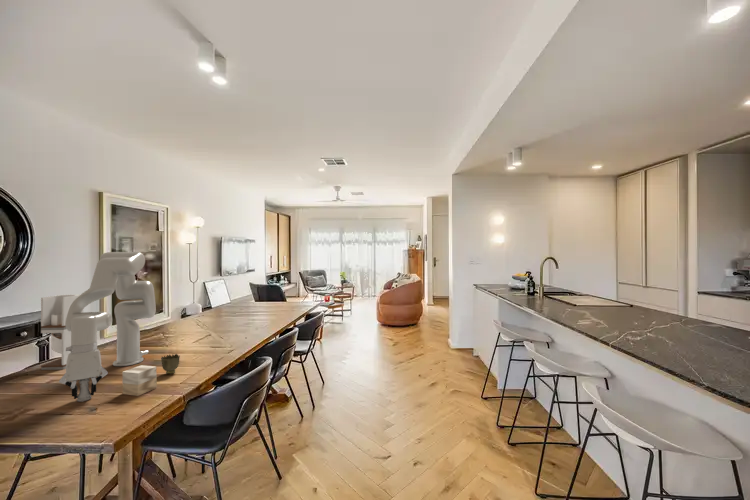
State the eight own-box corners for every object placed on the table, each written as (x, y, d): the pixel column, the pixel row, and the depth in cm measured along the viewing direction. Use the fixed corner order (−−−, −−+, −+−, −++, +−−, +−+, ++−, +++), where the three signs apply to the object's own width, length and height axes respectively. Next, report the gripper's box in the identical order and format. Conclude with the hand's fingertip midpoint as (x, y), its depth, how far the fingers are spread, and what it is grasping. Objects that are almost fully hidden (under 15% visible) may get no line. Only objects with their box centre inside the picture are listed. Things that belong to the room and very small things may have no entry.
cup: (182, 373, 156) (182, 355, 156) (164, 377, 150) (163, 359, 150) (176, 369, 161) (176, 352, 161) (159, 373, 155) (159, 356, 156)
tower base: (141, 386, 141) (141, 375, 141) (156, 388, 139) (156, 377, 139) (122, 394, 133) (122, 382, 133) (137, 396, 131) (137, 384, 131)
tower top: (141, 375, 141) (141, 365, 141) (156, 377, 139) (156, 366, 139) (122, 383, 133) (122, 371, 133) (138, 384, 131) (138, 373, 131)
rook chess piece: (82, 397, 130) (82, 376, 130) (94, 396, 130) (94, 376, 130) (73, 402, 126) (73, 381, 126) (85, 401, 126) (86, 380, 126)
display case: (62, 362, 174) (62, 294, 174) (83, 361, 174) (83, 294, 174) (40, 369, 162) (41, 297, 163) (63, 369, 163) (63, 297, 163)
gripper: (52, 354, 120) (52, 405, 120) (111, 346, 130) (111, 393, 130) (55, 349, 126) (55, 398, 126) (112, 342, 136) (112, 387, 136)
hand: (84, 395), depth 128 cm, fingers closed on rook chess piece, 4 cm apart
